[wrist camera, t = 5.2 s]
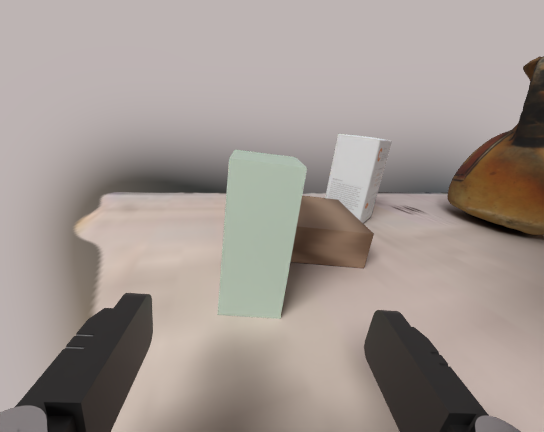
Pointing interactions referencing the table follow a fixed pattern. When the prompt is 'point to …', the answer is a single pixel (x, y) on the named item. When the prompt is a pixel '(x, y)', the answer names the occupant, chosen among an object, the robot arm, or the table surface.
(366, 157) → the small box
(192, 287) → the table surface
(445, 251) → the table surface
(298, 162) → the sage block
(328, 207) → the walnut base block
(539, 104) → the ceramic pitcher
